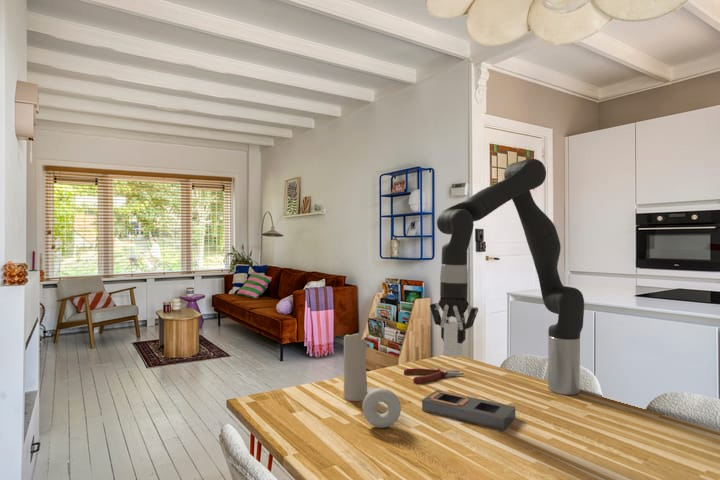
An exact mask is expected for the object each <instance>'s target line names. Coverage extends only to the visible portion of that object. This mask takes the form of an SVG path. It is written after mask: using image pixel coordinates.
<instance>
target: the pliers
mask: <svg viewBox="0 0 720 480" xmlns="http://www.w3.org/2000/svg"><path fill="white" fill-rule="evenodd" d="M403 375H404V376H408V375H418V376H415V377H414V378H413V381H412V382H413V384H415V383H417V384H418V383H420V384H428V383H432V382H435V381H438V380H440V379H444V380H446V379H447V378H449V377H455V376H456V377H457V376H463V375H465V374H464V373H463V372H461V370H451V369H449V370H445V369H444V370H441V369H440V368H437V369H433V368H431V369H430V368H418V367H417V368H416V367H415V368H413V367H412V368H405V369H404V370H403ZM419 375H420V376H419ZM437 379H438V380H437Z"/></svg>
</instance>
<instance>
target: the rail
mask: <svg viewBox="0 0 720 480" xmlns="http://www.w3.org/2000/svg"><path fill="white" fill-rule="evenodd" d="M421 411H422V412H427V413H431V414H436V415H439V416H444V417H447V418H451V419H456V420H458V421H463V422H465V423H466V422H467V423H471V424H475V425H479V426H482V427H487V428H491V429H495V430H497V431H498V430H499V431H502V432H504V431H506V429H507V428H508V427H509V426H510V425H511V423H512V422H513V421H514V420H515V419H516V406H515V405H510V404H504V403H500V402H495V401H490V400H487V399H481V398H476V397H472V396H467V395H463V394H459V393H454V392H449V391H446V390H440V389H436V390H435V391H433V392H431V393H430V394H429V395H427V396H426V397H424V398H422V400H421Z"/></svg>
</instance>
